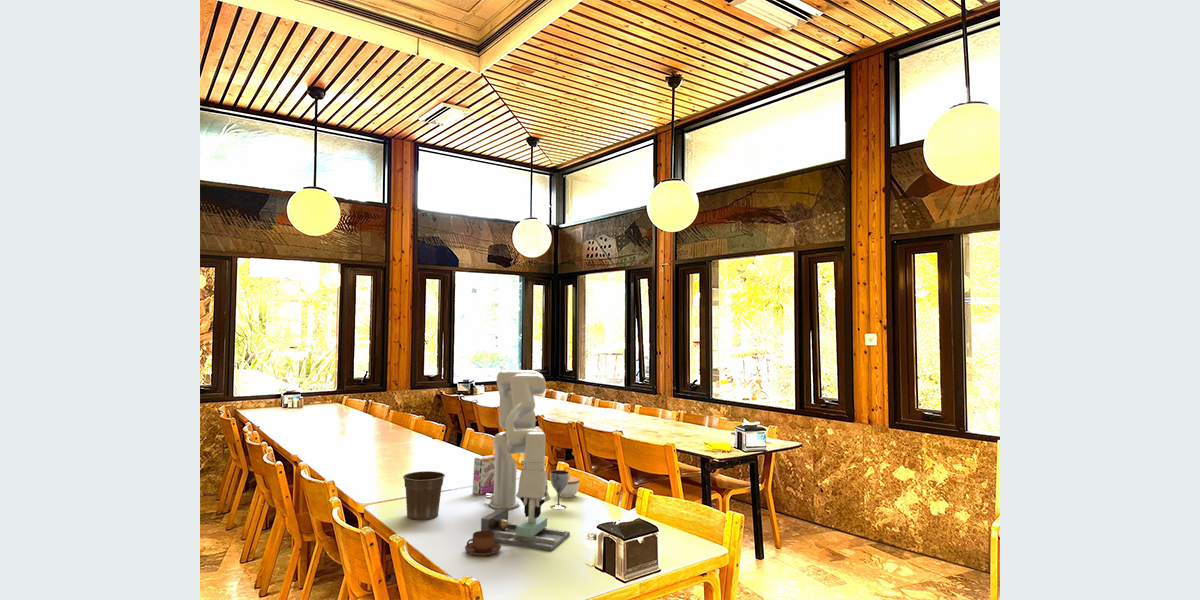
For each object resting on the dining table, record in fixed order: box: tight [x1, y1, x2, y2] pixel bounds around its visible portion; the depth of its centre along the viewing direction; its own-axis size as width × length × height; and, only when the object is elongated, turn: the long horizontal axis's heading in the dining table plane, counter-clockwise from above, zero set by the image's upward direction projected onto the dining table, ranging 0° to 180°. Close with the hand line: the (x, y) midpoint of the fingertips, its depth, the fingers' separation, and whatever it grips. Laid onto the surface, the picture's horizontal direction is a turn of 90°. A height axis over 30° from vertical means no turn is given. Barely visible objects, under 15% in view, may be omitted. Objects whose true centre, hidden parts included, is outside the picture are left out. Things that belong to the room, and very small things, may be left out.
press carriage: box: [516, 498, 548, 537], centre depth 227 cm, size 6×14×16 cm, turn 162°
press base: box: [480, 507, 571, 552], centre depth 228 cm, size 28×18×8 cm, turn 72°
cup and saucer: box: [464, 530, 502, 557], centre depth 212 cm, size 12×12×6 cm
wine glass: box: [549, 469, 570, 510], centre depth 270 cm, size 8×8×15 cm
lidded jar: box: [560, 476, 581, 498], centre depth 289 cm, size 11×11×9 cm
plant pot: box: [402, 470, 446, 521], centre depth 250 cm, size 16×16×16 cm
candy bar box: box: [472, 454, 495, 496], centre depth 290 cm, size 11×5×16 cm, turn 144°
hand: (532, 516), depth 227 cm, fingers closed on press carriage, 3 cm apart
